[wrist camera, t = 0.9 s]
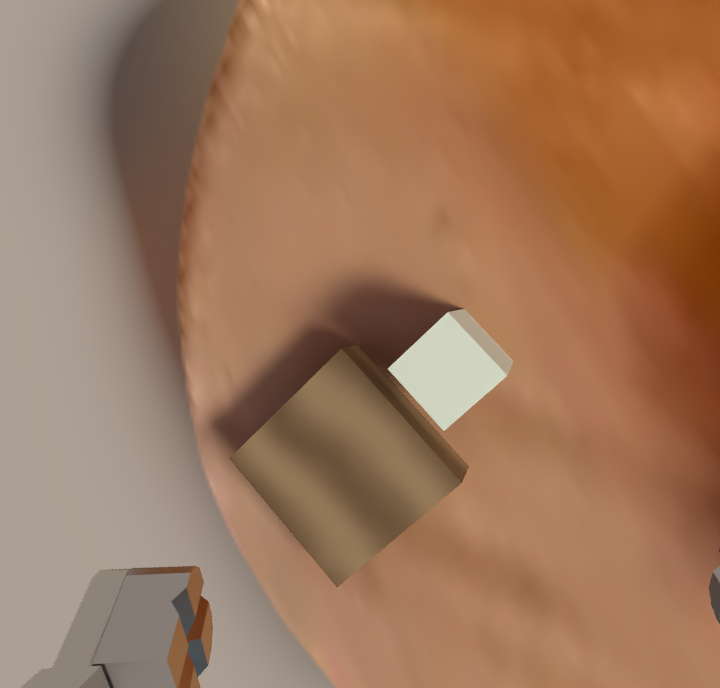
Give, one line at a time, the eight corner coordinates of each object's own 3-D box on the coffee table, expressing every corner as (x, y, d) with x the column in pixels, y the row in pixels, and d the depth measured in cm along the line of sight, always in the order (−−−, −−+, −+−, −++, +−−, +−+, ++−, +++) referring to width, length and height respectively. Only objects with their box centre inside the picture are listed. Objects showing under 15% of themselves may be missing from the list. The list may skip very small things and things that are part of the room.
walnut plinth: (358, 344, 46) (341, 348, 42) (468, 466, 45) (461, 482, 41) (253, 445, 49) (229, 458, 46) (353, 563, 48) (337, 587, 44)
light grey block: (464, 308, 44) (447, 312, 36) (513, 361, 43) (507, 375, 36) (413, 356, 45) (387, 368, 38) (460, 407, 45) (443, 431, 37)
